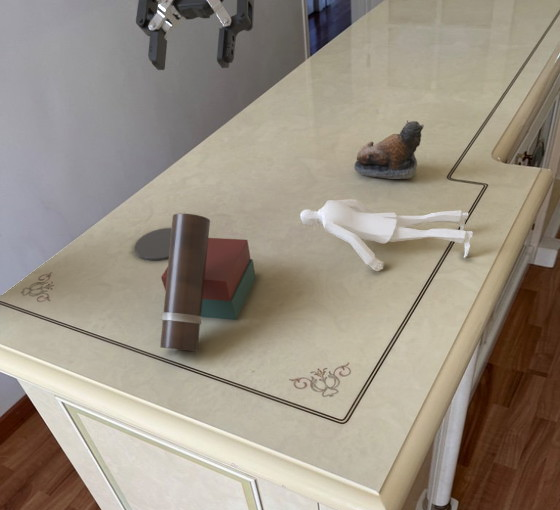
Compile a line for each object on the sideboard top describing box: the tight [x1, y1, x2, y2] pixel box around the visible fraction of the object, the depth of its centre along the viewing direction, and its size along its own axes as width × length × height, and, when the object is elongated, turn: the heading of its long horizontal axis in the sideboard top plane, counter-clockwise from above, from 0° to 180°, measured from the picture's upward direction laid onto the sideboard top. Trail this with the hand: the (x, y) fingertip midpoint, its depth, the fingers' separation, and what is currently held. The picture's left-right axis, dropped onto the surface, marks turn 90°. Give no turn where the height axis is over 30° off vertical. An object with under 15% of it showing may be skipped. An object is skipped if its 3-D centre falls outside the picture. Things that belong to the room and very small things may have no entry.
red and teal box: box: [160, 237, 256, 321], centre depth 84 cm, size 10×10×7 cm
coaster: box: [134, 227, 172, 262], centre depth 97 cm, size 9×9×1 cm
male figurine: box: [299, 198, 474, 272], centre depth 88 cm, size 14×6×25 cm
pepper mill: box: [159, 213, 211, 352], centre depth 76 cm, size 15×5×15 cm, turn 166°
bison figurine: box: [353, 120, 425, 180], centre depth 103 cm, size 12×7×10 cm, turn 63°
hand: (189, 66), depth 71 cm, fingers open, 8 cm apart
